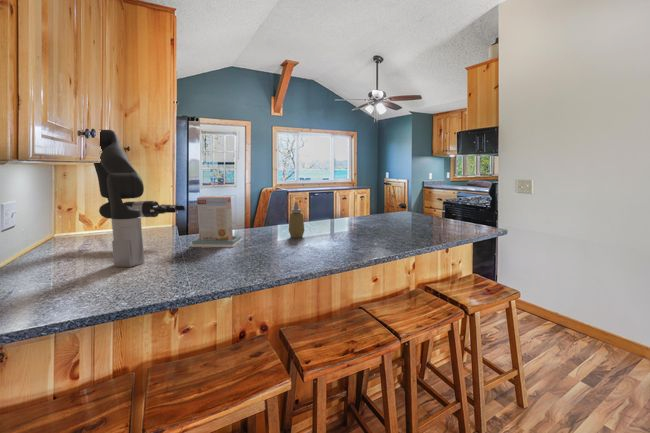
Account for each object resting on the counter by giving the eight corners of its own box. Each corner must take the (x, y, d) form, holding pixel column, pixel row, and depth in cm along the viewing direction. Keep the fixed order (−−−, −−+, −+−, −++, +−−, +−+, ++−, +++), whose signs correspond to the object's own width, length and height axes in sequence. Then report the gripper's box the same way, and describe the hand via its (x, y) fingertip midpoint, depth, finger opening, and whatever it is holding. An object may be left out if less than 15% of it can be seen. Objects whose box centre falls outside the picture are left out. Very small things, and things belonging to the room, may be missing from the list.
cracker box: (233, 240, 159) (231, 196, 156) (228, 243, 153) (226, 197, 150) (204, 239, 161) (202, 196, 158) (199, 242, 155) (196, 197, 152)
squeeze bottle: (303, 238, 167) (303, 202, 164) (287, 238, 167) (287, 202, 165) (305, 235, 175) (304, 201, 172) (289, 235, 175) (289, 201, 173)
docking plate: (233, 247, 150) (233, 241, 149) (189, 246, 151) (189, 241, 150) (242, 240, 164) (242, 235, 163) (202, 240, 165) (202, 235, 164)
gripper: (135, 202, 148) (171, 202, 147) (153, 199, 162) (186, 199, 161) (137, 219, 149) (172, 219, 148) (155, 215, 163) (187, 215, 162)
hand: (179, 208), depth 155 cm, fingers open, 8 cm apart
